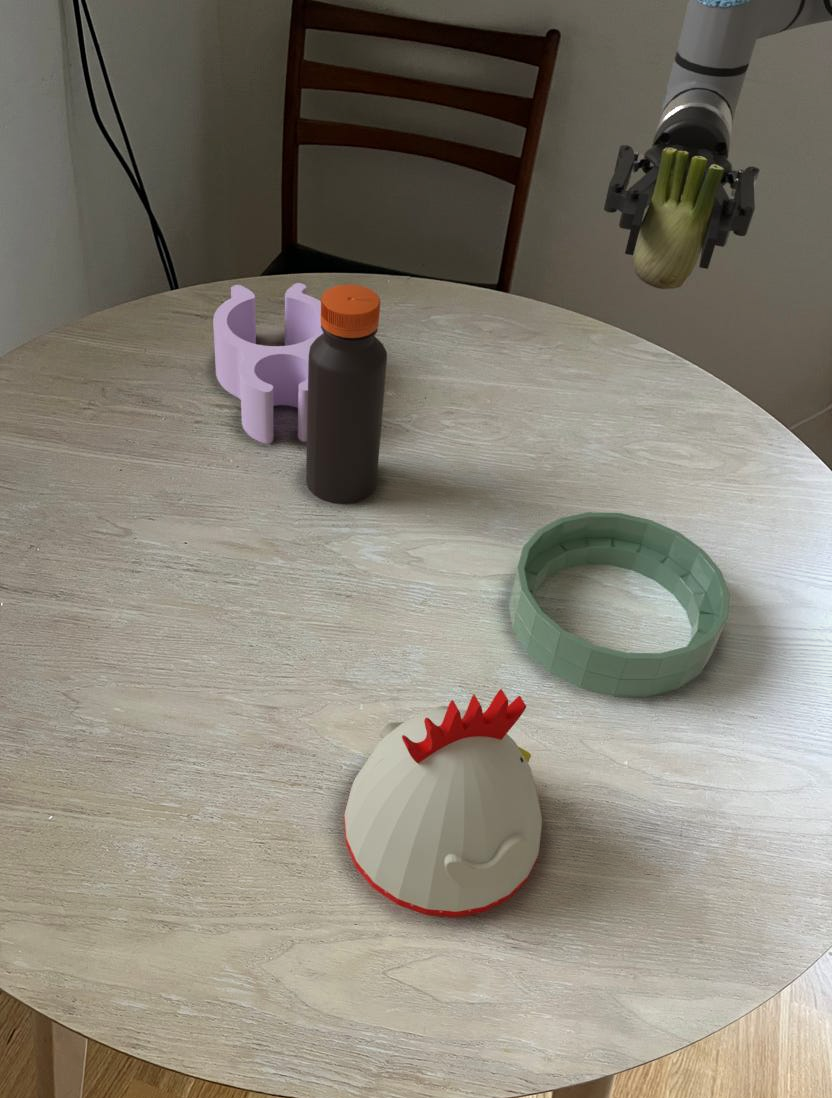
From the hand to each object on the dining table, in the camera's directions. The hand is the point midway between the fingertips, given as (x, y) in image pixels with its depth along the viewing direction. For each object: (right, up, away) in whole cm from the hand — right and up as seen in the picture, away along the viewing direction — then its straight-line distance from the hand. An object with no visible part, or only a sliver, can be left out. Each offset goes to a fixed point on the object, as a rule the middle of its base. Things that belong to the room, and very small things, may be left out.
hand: (670, 246), depth 94 cm
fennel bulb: (+1, -1, +8) cm, 8 cm away
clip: (-36, -8, +20) cm, 42 cm away
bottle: (-29, -20, +10) cm, 36 cm away
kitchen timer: (-21, -48, -16) cm, 56 cm away
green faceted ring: (-6, -33, -1) cm, 34 cm away
